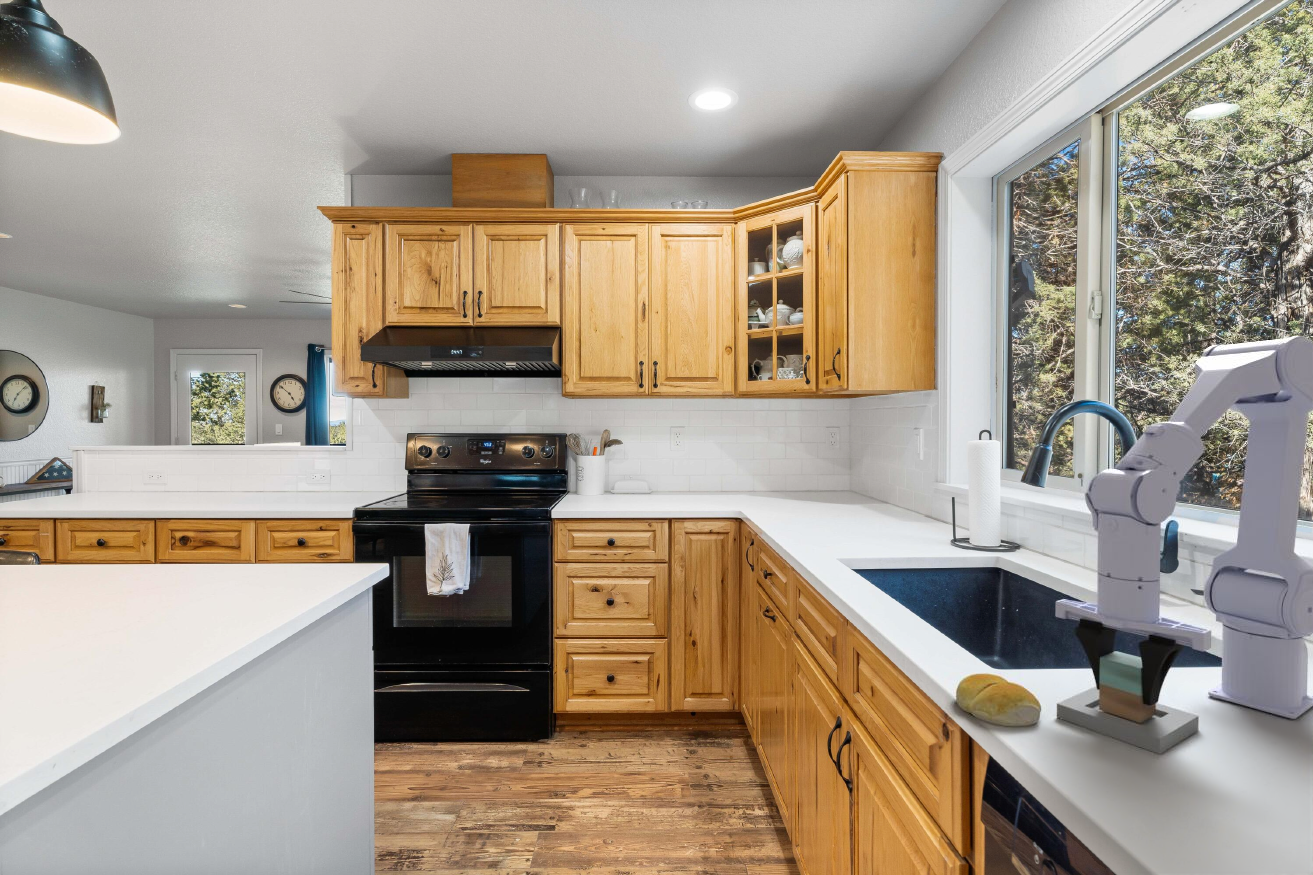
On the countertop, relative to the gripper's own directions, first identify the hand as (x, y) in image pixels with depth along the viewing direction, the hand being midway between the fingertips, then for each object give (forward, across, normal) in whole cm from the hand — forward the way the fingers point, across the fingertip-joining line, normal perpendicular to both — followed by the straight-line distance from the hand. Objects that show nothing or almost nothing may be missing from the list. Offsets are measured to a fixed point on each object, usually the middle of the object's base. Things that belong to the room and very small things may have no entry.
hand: (1126, 695), depth 73 cm
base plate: (+3, 0, 0) cm, 3 cm away
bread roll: (+4, -10, -9) cm, 14 cm away
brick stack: (+2, 0, 0) cm, 2 cm away
